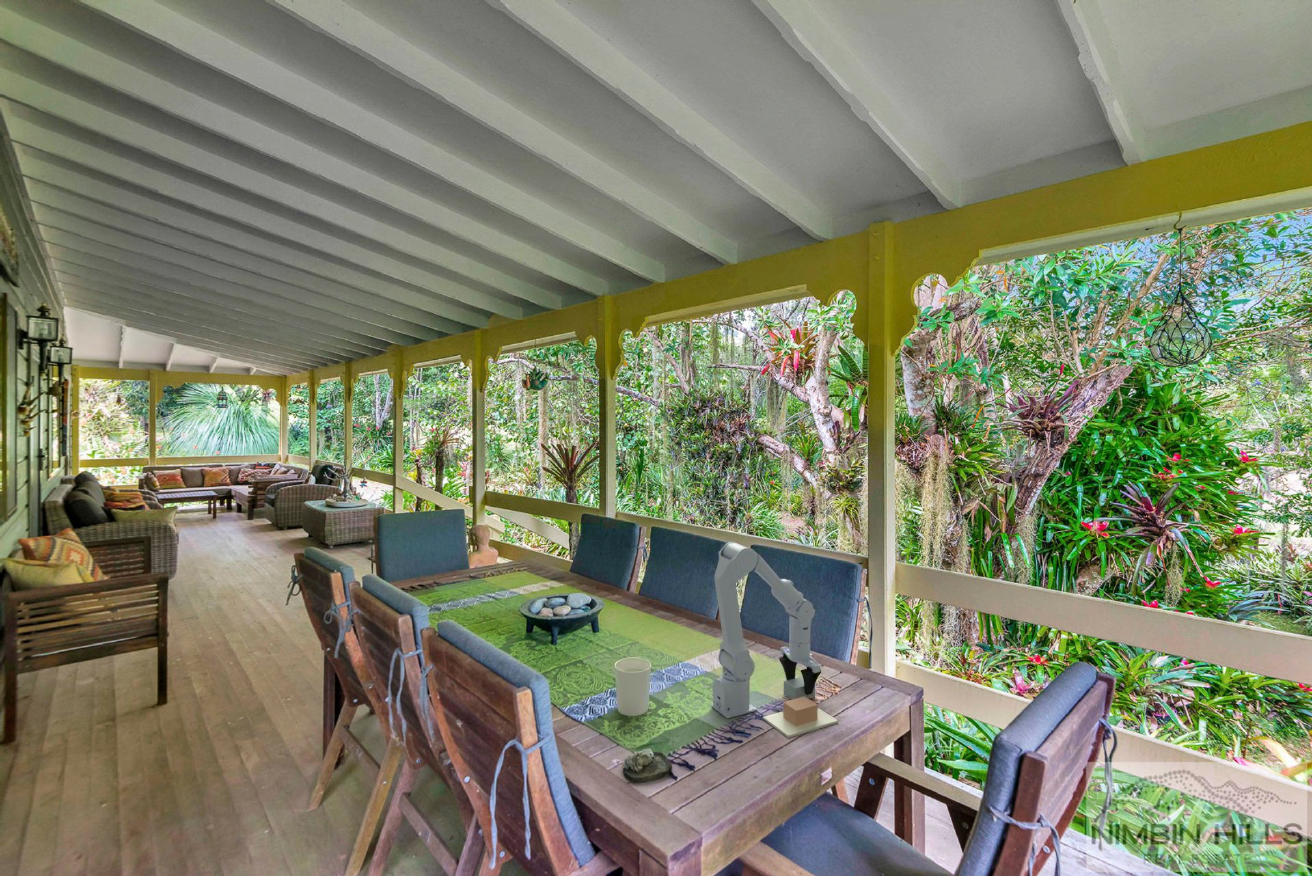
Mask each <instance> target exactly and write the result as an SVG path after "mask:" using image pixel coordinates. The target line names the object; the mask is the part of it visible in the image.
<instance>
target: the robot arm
mask: <svg viewBox="0 0 1312 876" xmlns="http://www.w3.org/2000/svg"><path fill="white" fill-rule="evenodd" d="M750 572H754V573H756V574H757V575H758V576H759V577H760V578H761V579H762V580H763V581H764V582H765V583H767V584H768V585H769V586H770V587H771V594H772V596H773V597H774V598H775V599H776V600H777V601H778V602H779V603H780V604H781V605H782V606H783V607H784V610H785V612H786V613H787V614H789V615H788V616H789V617H788V618H789V619H788V620H789V623H788V624H789V626H788V627H789V631H788V633H789V636H788V637H789V643H788V645H789V647H788V646H782V647H780V655H781V656H780V657H779V658H778V659H779V663H780V664H781V666H782V669H783V672H784V675H785V678H786V680H785V681H787V680H791V679H795V678H796V670H797V665H798V664H799V665H802V666H804V667H806V668H804V669H800V673H801V677H803V680H804V691H805V694H806V695H809V694H812V693H813V689H814V686H815V687H816V683H817V680H818V678H819V676H820V675H821V674H822V669H821V664H820V663H818V662H817V661H816V660H815V659H814V658H813V655H814V654H812V653H811V625H812V620H813V618H814V617H815V614H816V609H814V605H813V603H812V602H811V601H809V600H808V599H806V598H804V594H803V593H802V592H800V591H799V590H797V588H796V587H794V584H795V583H794V582H793V581H792V580H790V579H786V578H780V577H779V576H778V574H777V573H776V572H775V571H774V570H773V569H772V567H771V566H770V564H768V563H767V562H766V560H764V558H763V557H762V556H761V555H760V554H759V553H757V551H755V550H754V549H753V548H750V547H746V546H744V545H742V544H739V543H738V542H737V541H729V542H727V543H725V544H724V545H723V547H722V548H721V549H720V550H719V551H718V563H717V566H716V569H715V572H714V578H713V579H714V586H715V593H716V599H717V600H716V601H717V605H718V606H717V607H718V613H719V619H720V621H719V622H720V626H721V627H720V628H721V633H722V634H721V635H722V641H721V642H720V643H719V651H718V652H719V653H718V657H717V658H718V663H719V665H720V666H722V674H721V676H719V677H718V678H716V679H714V680H713V682H712V703H711V707H712V708H713V709H714V710H716V711H717V712H718V713H719V714H721V715H722V716H723V717H725V718H726V719H731V718H735V717H738V716H742V715H745V714H749V713H753V712H757V708H756V707H755V706H753V705H752V704H750V703H751V702H750V700H751V699H750V698H751V697H750V692H751V691H750V686H751V684H750V680H751V677H752V676H753V674H754V672H755V668H756V667H755V662H754V660H753V659H752V657H751V655H750V654H751V653H750V650H749V648H748V646H747V644H746V643H745V640H744V634H743V628H742V621H741V611H740V606H739V600H738V599H739V598H738V593H737V592H738V591H737V585H736V584H737V583H738V582H739V581H740V580H742V579H743V578H744V577H746V576H747V575H748V574H750Z"/></svg>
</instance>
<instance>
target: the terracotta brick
mask: <svg viewBox="0 0 1312 876" xmlns="http://www.w3.org/2000/svg"><path fill="white" fill-rule="evenodd" d="M782 702H783V704H782V706H783V707H782V710H783V718H785V719H786V720H788V721H789V722H790V723H792V724H793V725H795V726H799V725H803V724H806V723H809V722H813V721H816V720H818V708H819V707H818V706H819V705H818V703H816V702H815V701H812V700H811V699H810V698H809V699H808V698H806V697H805V696H804V697H800V698H797V699H793V700H791V699H789V700H787V701H782Z"/></svg>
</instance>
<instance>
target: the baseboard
mask: <svg viewBox="0 0 1312 876" xmlns="http://www.w3.org/2000/svg"><path fill="white" fill-rule="evenodd" d="M762 720H763V721H765V722H766V723H768V724H769V725H770V726H772V728H774V729H775V730H777V731H778V732H780V733H781V734H782V735H783V736H785V737H786V738H788V739H790V738H793V737H797V736H798V735H802V734H807V733H809V732H812V731H815V730H818V729H823V728H826V727H829V726H832V725H836V724H838V723H839V720H838V719H837V718H835V717H833V716H832V715H830V714H828V713H827V712H825V711H824V710H822V709H821V708H819V707H818V720H816V721H813V722H809V723H806V724H803V725H799V726H795V725H793V724H792V723H790V722H789V721H788V720H786V719H785V718H783V711H780V712H776V713H772V714H769V715H765V716H762Z"/></svg>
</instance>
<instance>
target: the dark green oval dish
mask: <svg viewBox="0 0 1312 876" xmlns="http://www.w3.org/2000/svg"><path fill="white" fill-rule="evenodd" d="M622 767H623V769H622V774H623V776H624V777H625V779H626V780H628V782H630V783H632V784H643V783H644V784H645V783H649V782H654V781H656V780H661V779H663V778H665V777H667V776H668V775H669V774H671V772H672V770H673V765H672V763H671V760H669V759H667V757H665V755H664V753H662V752H661V751H653V750H652V749H651V748H642V749H641V750H640V751H638V750H637V751H635V752H634V754H633V755H631V754H629V755H628V756H626V757H625V758H624V759H623V761H622Z"/></svg>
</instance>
